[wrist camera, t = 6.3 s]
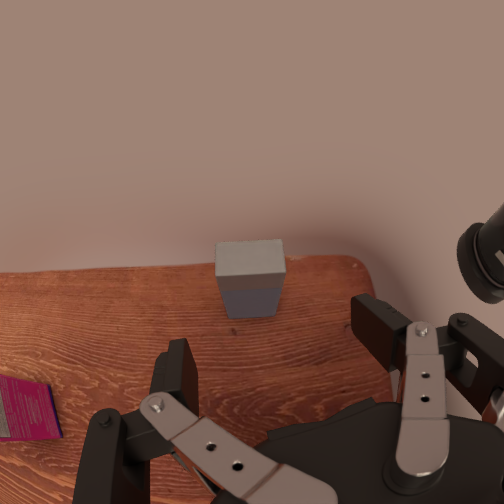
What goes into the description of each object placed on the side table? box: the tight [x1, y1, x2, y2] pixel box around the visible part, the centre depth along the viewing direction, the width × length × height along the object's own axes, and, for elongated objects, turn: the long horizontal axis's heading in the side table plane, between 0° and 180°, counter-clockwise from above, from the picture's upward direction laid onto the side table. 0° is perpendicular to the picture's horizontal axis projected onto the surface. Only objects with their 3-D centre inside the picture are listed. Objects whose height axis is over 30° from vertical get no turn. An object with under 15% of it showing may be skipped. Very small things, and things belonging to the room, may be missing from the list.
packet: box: [215, 239, 286, 319], centre depth 20 cm, size 4×2×9 cm, turn 93°
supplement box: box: [0, 374, 63, 441], centre depth 13 cm, size 6×6×12 cm
